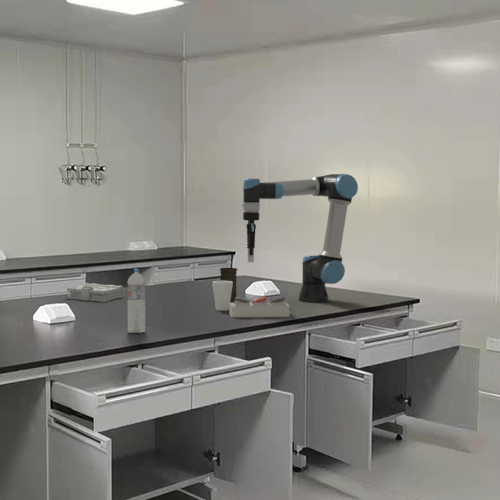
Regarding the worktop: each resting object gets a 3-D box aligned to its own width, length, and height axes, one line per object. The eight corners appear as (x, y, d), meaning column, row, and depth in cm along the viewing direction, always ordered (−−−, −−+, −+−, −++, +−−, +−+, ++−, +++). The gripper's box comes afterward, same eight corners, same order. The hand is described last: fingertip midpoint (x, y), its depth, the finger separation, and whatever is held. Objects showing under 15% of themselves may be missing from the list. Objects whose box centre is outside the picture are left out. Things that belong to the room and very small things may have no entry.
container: (235, 307, 365) (235, 269, 363) (217, 306, 367) (217, 269, 365) (239, 304, 374) (239, 267, 372) (221, 303, 375) (221, 267, 374)
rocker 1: (247, 302, 342) (248, 299, 342) (248, 303, 338) (249, 301, 338) (234, 299, 341) (235, 296, 341) (235, 300, 337) (236, 297, 337)
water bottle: (128, 330, 303) (128, 268, 301) (145, 330, 304) (145, 268, 302) (127, 334, 297) (126, 270, 294) (144, 334, 297) (144, 270, 295)
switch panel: (288, 312, 350) (288, 299, 349) (292, 316, 340) (292, 302, 339) (229, 313, 346) (229, 299, 346) (231, 317, 336) (231, 303, 335)
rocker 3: (283, 298, 344) (282, 296, 343) (285, 300, 340) (284, 297, 340) (270, 302, 343) (270, 299, 343) (272, 303, 339) (271, 301, 339)
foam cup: (235, 308, 361) (235, 281, 359) (228, 311, 352) (228, 283, 351) (216, 307, 364) (216, 280, 362) (209, 310, 355) (209, 282, 354)
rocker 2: (266, 298, 343) (265, 295, 342) (267, 299, 339) (266, 297, 338) (253, 302, 342) (252, 299, 342) (254, 304, 338) (253, 301, 338)
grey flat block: (81, 294, 404) (80, 279, 403) (125, 297, 392) (125, 283, 391) (57, 299, 386) (57, 284, 385) (104, 303, 375) (103, 288, 374)
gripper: (241, 211, 360) (241, 260, 362) (245, 212, 347) (244, 263, 350) (257, 211, 361) (256, 260, 363) (261, 212, 348) (260, 263, 350)
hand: (250, 262), depth 356 cm, fingers closed
